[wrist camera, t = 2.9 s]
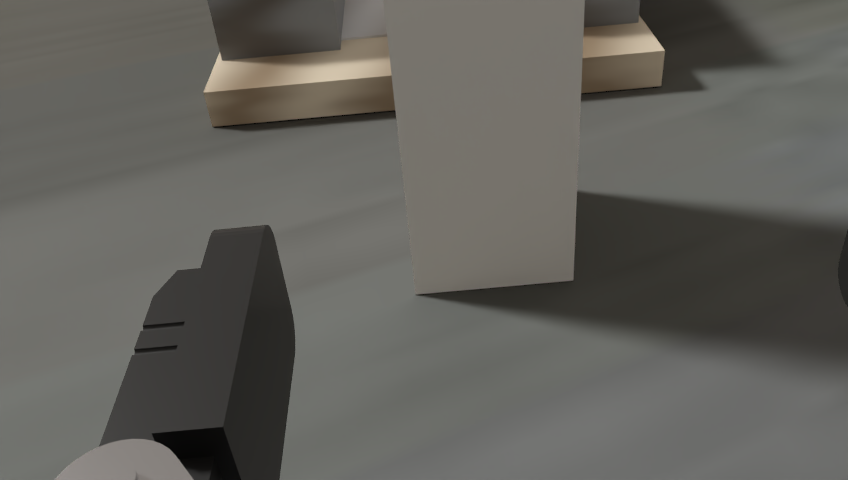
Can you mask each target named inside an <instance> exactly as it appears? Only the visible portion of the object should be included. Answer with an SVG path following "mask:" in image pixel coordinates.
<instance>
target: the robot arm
mask: <svg viewBox="0 0 848 480" xmlns="http://www.w3.org/2000/svg"><path fill="white" fill-rule="evenodd" d="M838 277H839V285H840V289H841V293H842V296H843V299H844V301H845V303H846V305H847V306H848V231H847V235H846V238H845V242H844V246H843V250H842V253H841V257H840V261H839V268H838ZM134 350H135V355H132V357H131V360H130V362H129V365H128V368H127V371H126V373H125V376H124V379H123V382H122V385H121V387H120V390H119V393H118V396H117V398H116V401H115V404H114V407H113V410H112V412H111V415H110V418H109V421H108V423H107V426H106V429H105V432H104V435H103V437H102V440H101V443H100V445H99V447H97V448H95V449H93V450H91V451H89V452H87V453H86V454H84V455H82V456H81V457H79V458H78V459H76V460H75V461H74V462H72V463H71V464H70V465H69V466H67V467H66V468H65V469H64V470H63V471H62V472H61V473H60V474H59V475H58V476H57V477H56V479H55V480H279V478H280V470H281V462H282V454H283V445H284V437H285V429H286V421H287V413H288V405H289V397H290V389H291V381H292V373H293V365H294V357H295V330H294V321H293V314H292V309H291V305H290V301H289V297H288V293H287V288H286V284H285V280H284V276H283V271H282V267H281V263H280V259H279V255H278V250H277V246H276V242H275V238H274V235H273V232H272V230H271V228H270V226H269V225H262V226H252V227H241V228H231V229H220V230H214V231H213V232H212V233H211V236H210V239H209V242H208V245H207V249H206V252H205V256H204V259H203V262H202V266H201V268H198V269H187V270H177V272H176V273H175V274H174V275H173V276H172V277H171V278H170V279H169V280H168V281H167V282H166V283H165V284H164V286H163V287H162V288H161V289H160V290H159V291H158V292H157V293H156V294H155V295H154V296H153V299H152V301H151V304H150V307H149V310H148V312H147V315H146V318H145V321H144V324H143V331H141V332H140V335H139V337H138V340H137V343H136V346H135V348H134Z"/></svg>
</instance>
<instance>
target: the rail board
mask: <svg viewBox="0 0 848 480" xmlns="http://www.w3.org/2000/svg"><path fill="white" fill-rule="evenodd" d="M208 4H209V8H210V12H211V17H212V21H213V25H214V29H215V33H216V37H217V42H218V46H219V50H220V53H219V55H218V58H217V60H216V63H215V65H214V68H213V70H212V73H211V75H210V78H209V80H208V83H207V85H206V88H205V90H204V96H205V100H206V104H207V108H208V112H209V115H210V119H211V123H212V127H215V126H226V125H237V124H248V123H259V122H271V121H282V120H293V119H304V118H315V117H326V116H337V115H348V114H359V113H370V112H381V111H392V110H395V102H394V93H393V84H392V75H391V66H390V57H389V48H388V39H387V29H386V20H385V11H384V2H383V0H208ZM639 9H640V0H585V9H584V33H583V58H582V82H581V93H591V92H602V91H613V90H624V89H635V88H646V87H657V86H661V83H662V74H663V64H664V55H665V50H664V49H663V47H662V46H661V44H660V43H659V42H658V40H657V39H656V38H655V36H654V35H653V33H652V32H651V31H650V29H649V28H648V26H647V25H646V24H645V22H644V21H643V20H642V18H641V17H640V15H639Z"/></svg>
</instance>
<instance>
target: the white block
mask: <svg viewBox="0 0 848 480" xmlns="http://www.w3.org/2000/svg"><path fill="white" fill-rule="evenodd" d="M383 2H384V11H385V20H386V29H387V39H388V48H389V57H390V66H391V75H392V84H393V93H394V102H395V112H396V121H397V130H398V139H399V148H400V157H401V166H402V175H403V184H404V194H405V203H406V212H407V221H408V230H409V239H410V248H411V257H412V266H413V276H414V285H415V294H416V295H417V294H428V293H439V292H450V291H462V290H473V289H484V288H495V287H507V286H518V285H529V284H540V283H552V282H563V281H573V279H574V254H575V229H576V205H577V180H578V156H579V131H580V107H581V82H582V58H583V33H584V9H585V0H383Z"/></svg>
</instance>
